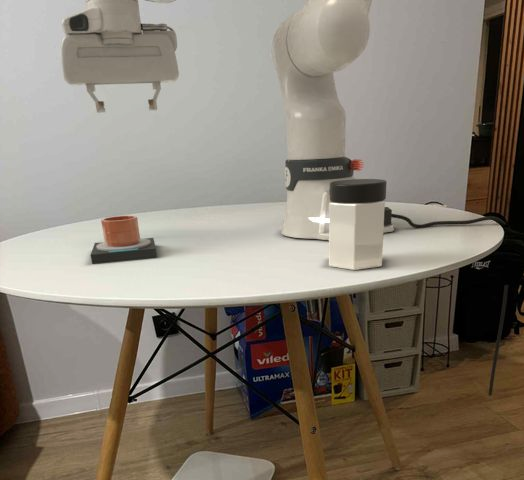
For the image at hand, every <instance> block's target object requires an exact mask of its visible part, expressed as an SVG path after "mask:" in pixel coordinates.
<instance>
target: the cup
mask: <svg viewBox="0 0 524 480" xmlns="http://www.w3.org/2000/svg"><path fill="white" fill-rule="evenodd" d="M100 221H101V227H102V234H103V240H104V242H105V243H107V245H108V246H111V247H122V246H130V245H134V244H137V243H139V239H140V238H141V233H140V228H139V227H140V226H139V219H138V215H137V216H136V215H115V216H108V217H104V218H101V220H100Z"/></svg>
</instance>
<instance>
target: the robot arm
mask: <svg viewBox="0 0 524 480" xmlns="http://www.w3.org/2000/svg"><path fill="white" fill-rule="evenodd" d="M145 1H147V2H152V3H157V4H170V3H173V2H175V1H176V0H145ZM372 1H373V0H306V1H305V4H303V6H302V7H301V8H300V9H299V10H298V11H296V12H294V13H292V14H291V15H290V16H288V17H286V18H285V19H284V20H283V21H282V22H281V23H280V24H279V26H278V28H277V29H276V31H275V33H274V34H273V36H272V39H271V42H270V46H269V54H270V60H271V63H272V65H273V67H274V70H276V73H277V77H278V83H279V87H280V92H281V97H282V102H283V108H284V114H285V127H286V157H287V159H286V160H285V163H284V164H285V166H284V183H285V189H286V205H285V213H284V219H283V225H282V228H281V232H280V233H281V234H282V235H283V236H285V237H290V238H296V239H309V240H310V239H311V240H313V239H314V240H323V241H329V203H330V202H331V201H330V195H329V193H330V192H329V191H330V190H329V189H330V183H331V182H333V181H339V180H351V179H356V178H355V177H354V173H355V171H357V172H360V171H362V169H363V168H364V162H363V160H362V159H357V158H354V159H352V160H351V159H350V158H349V157H346V110H345V109H344V107H343V105H342V104H341V102H340V99H339V97H338V96H339V95H338V93H337V89H336V83H335V77H334V73H336V72H340V71H342V70H344V69H346V68H347V67H348V66H350V64H353V62H354V61H356V60H357V59H358V58H359V57H360V56H361V55H362V54H363V52H364V51H365V49H366V47H367V45H368V42H369V38H370V34H371V33H370V32H371V24H370V18H369V14H370V9H371V5H372ZM139 5H140V4H139V0H85V6H86V9H84V10H82V11H79V12H77V13H74V14H72V15H69V16H66V17H64V18H63V19H62V21H61V27H62V30H63V33H64V35H65V36H64V37H63V39H62V41H61V45H60V60H61V68H62V69H61V70H62V76H63V79H64V81H65V82H66V83H67V84H68V85H69V86H85V87H86V92H87V93H88V95H89V96H90V98H91V99H92V100H93V102H94V103H95V109H96V110H95V111H96V113H97V114H98V113H106V108H105V102H104V100H103V101H102V100H99V99H98V98H97V96H96V95H95V93H96V92H97V90H96V86H101V85H103V86H104V85H127V84H128V85H132V84H135V85H136V84H151V86H152V90H153V91H154V94H153V97H152V99H150V98H149V99H147V104H148V111H158V103H157V100H158V97H159V95H160V92H161V90H162V87H161V84H163V83H164V84H165V83H166V84H167V83H175V82H176V81H178V79H179V77H180V74H179V73H180V72H179V65H178V59H177V55H176V51H177V48H178V37H177V34H176V33H177V32H176V31H175V30H174V29H173V28H172V27H171V26H168V24H166V23H155V24H154V23H142V21H141V13H140V6H139ZM392 218H394V219H400V220H403V221H405V222H407V223H408V225H409V226H410V227H412V228H414V229H415V228H416V229H424V228H427V227H428V228H429V227H433V226H442V225H443V226H445V225H446V226H447V225H448V226H449V225H453V226H454V225H470V224H475V223H480V222H485V221H495V222H497V223H498V224H500V225H503V226H504V225H507V223H506V222H505V221H504V220H503V219H501V218H500V217H497V216H493V215H492V216H489V215H488V216H482V217H477V218H474V219H467V220H438V221H437V220H435V221H431V222H427V223H423V224H418V223H414V222H413V221H412V220H411V219H410V218H409V217H408V216H405V215H403V214H397V213H393V209H391V208H390V207H389V206H385V209H384V231H383V234H385V233H391V232H394V231H395V227H394V226H395V225H394V224H393V223H392ZM508 292H509V284H505V285H504V288H503V297H502V305H501V311H500V318H499V324H498V330H497V336H496V341H495V348H494V354H493V361H492V366H491V372H490V374H491V375H490V380H489V388H488V396H490V397H491V396H493V389H494V381H495V375H496V368H497V362H498V357H499V356H498V355H499V350H500V345H501V340H502V339H501V338H502V334H503V329H504V328H503V327H504V321H505V314H506V308H507V300H508Z"/></svg>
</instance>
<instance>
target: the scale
mask: <svg viewBox="0 0 524 480" xmlns="http://www.w3.org/2000/svg"><path fill="white" fill-rule="evenodd" d="M155 258H158V255H157V248H156V243H155V239H154V237H146V238H145V237H144V238H142V237H140V239H139V243H137V244H134V245H130V246H122V247H111V246H108V245H107V243H105V241H99V242H94V244H93V247H92V249H91V251H90V260H91V264H92V265H95V264H103V263H104V264H105V263H114V262H123V261H124V262H125V261H134V260H144V259H155Z"/></svg>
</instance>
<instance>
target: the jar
mask: <svg viewBox="0 0 524 480" xmlns="http://www.w3.org/2000/svg"><path fill="white" fill-rule="evenodd" d="M329 190H330V191H329V192H330V193H329V195H330V201H331V202H330V203H329V240H328V266H329V267H331V268H337V269H338V268H339V269H344V270H351V271H357V270H366V269H373V268H380V267H382V266H383V252H384V251H383V250H384V249H383V248H384V233H383V231H384V209H385V207H386V206H385V205H386V198H387V180H385V179H380V178H355V179H351V180H339V181H333V182H331V183H330V189H329Z"/></svg>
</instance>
